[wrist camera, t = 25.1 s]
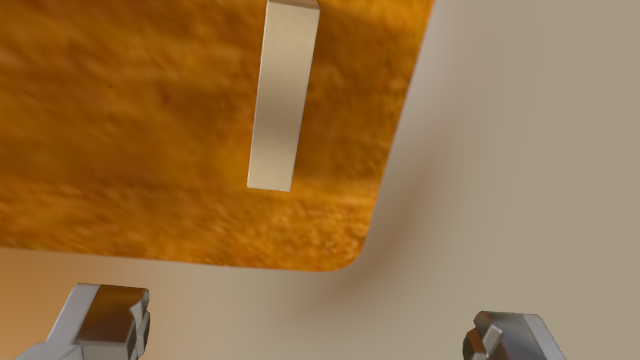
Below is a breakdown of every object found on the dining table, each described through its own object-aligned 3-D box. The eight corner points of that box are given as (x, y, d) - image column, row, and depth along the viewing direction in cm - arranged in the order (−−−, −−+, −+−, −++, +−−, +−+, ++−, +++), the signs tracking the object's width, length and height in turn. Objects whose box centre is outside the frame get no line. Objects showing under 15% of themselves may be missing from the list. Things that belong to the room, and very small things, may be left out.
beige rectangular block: (268, -9, 23) (267, 1, 21) (316, -1, 23) (320, 10, 21) (249, 165, 28) (247, 187, 26) (288, 169, 28) (289, 192, 26)
